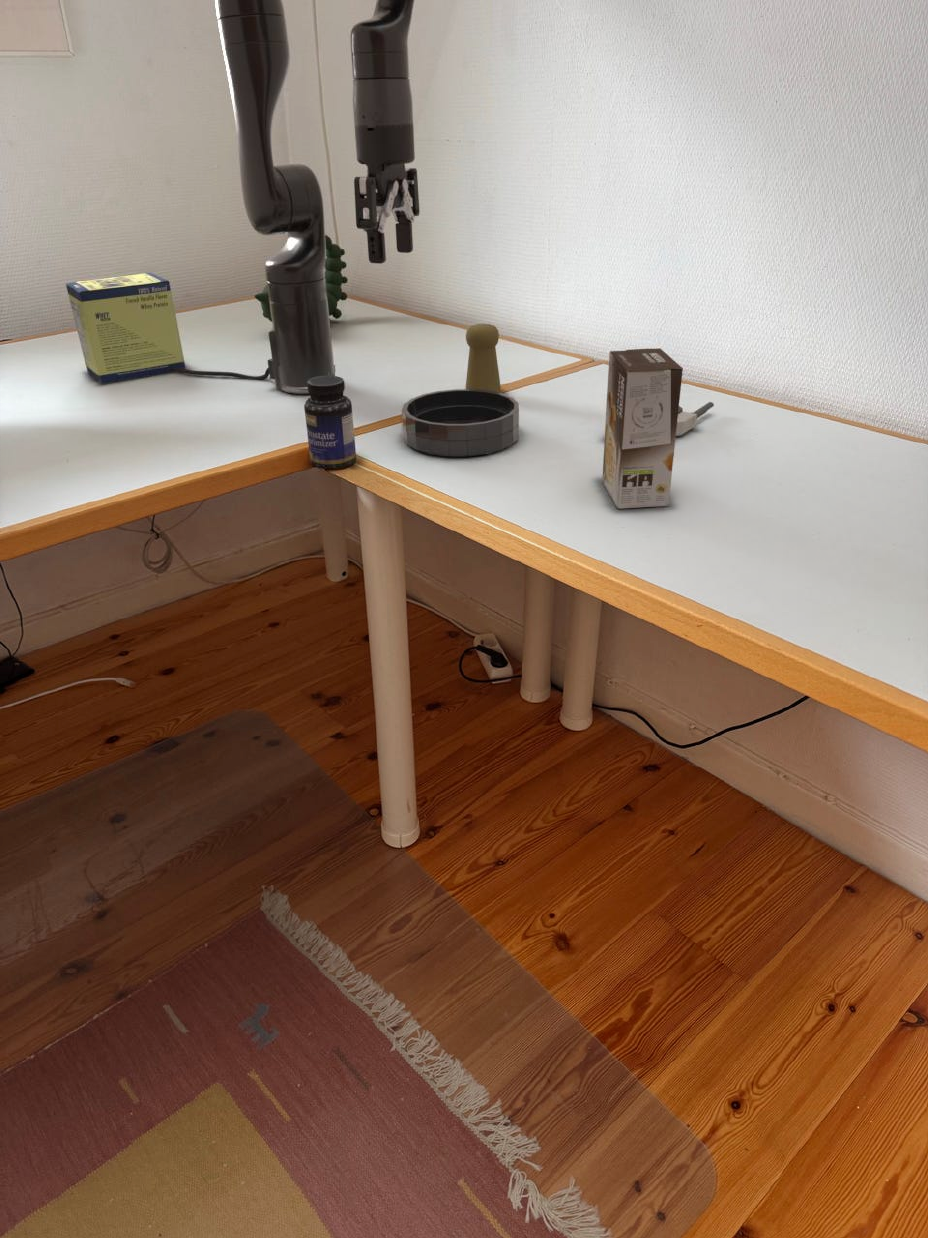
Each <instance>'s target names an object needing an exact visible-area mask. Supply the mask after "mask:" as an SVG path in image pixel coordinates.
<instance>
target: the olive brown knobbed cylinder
mask: <svg viewBox="0 0 928 1238" xmlns="http://www.w3.org/2000/svg"><path fill="white" fill-rule="evenodd" d="M499 337H500V333H499V330H498V327H496V326H495V325H493V324H490V323H476V324H472V325H470V326H468V328H467V330H466V333H465V341H466V344H467V346H468V347H469V348H468V359H467V368H466V369H467V370H466V379H465V380H466V381H465V388H464V389H476V390H488V391H493V392H498V393H502V386H501V378H500V371H499V370H500V369H499V364H498V363H499V362H498V355H497V349H496V346H497V345H498V343H499V339H500V338H499Z"/></svg>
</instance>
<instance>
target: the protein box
mask: <svg viewBox="0 0 928 1238" xmlns="http://www.w3.org/2000/svg"><path fill="white" fill-rule="evenodd" d="M65 288H66V291H67V295H68V299H69V303H70V307H71V311H72V316H73V321H74V324H75V328H76V331H77V335H78V339H79V343H80V347H81V352H82V356H83V359H84V363H85V367H86V371H87V373H88V374H89V375H90V376H91V377H93V378H94V379H95V380H96V381H97V382H98V383H99V384H101V385H103V384H104V385H105V384H110V383H116V382H121V381H122V382H123V381H127V380H133V379H137V378H138V379H139V378H144V377H150V376H151V377H152V376H157V375H162V374H168V373H175V371H172V370H171V368H172V367H176V368H181V369H187V368H186V362H185V357H184V352H183V347H182V342H181V336H180V333H179V332H180V331H179V327H178V320H177V315H176V310H175V305H174V298H173V293H172V289H171V283H170V281H169V280H168V279H166V278H163V277H161V276H159V275H157V274H154V273H153V272H143V273H138V274H131V275H121V276H115V277H107V278H97V279H90V280H81V281H72V282H67V283H65Z"/></svg>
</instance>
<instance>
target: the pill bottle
mask: <svg viewBox="0 0 928 1238" xmlns="http://www.w3.org/2000/svg"><path fill="white" fill-rule="evenodd" d="M307 387H308V392H309V393H310V394H309V396H310V397H309V398H307V399H306V401H305V402H304V405H303V410H304V416H305V426H306V433H307V434H306V435H307V442H308V450H309V451H308V452H309V459H310V464H311V465H312V466H313V467H314V468H317V469H321V470H326V471H327V470H328V471H333V470H340V469H341V470H342V469H346V468H348V467H350V466H352V465H353V464H354V463H355V462H356V460H357V451H356V449H357V448H356V437H355V427H354V417H353V416H354V415H353V404H352V401H351V400H350V398H349V397H348V396H347V395H345V394H344V392H345V389H346V385H345V380H344V378H343V377H341V376H337V375H335V376H319V377H314V378H311V379H309V380H308V381H307Z"/></svg>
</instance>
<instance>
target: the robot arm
mask: <svg viewBox="0 0 928 1238" xmlns="http://www.w3.org/2000/svg"><path fill="white" fill-rule="evenodd" d="M214 4H215V10H216V17H217V23H218V25H217V26H218V30H219V36H220V41H221V48H222V53H223V57H224V62H225V68H226V74H227V80H228V84H229V85H228V86H229V90H230V91H229V92H230V96H231V103H232V109H233V115H234V124H235V130H236V131H235V132H236V133H235V134H236V143H237V152H238V153H237V154H238V165H239V174H240V175H239V177H240V184H241V186H240V187H241V193H242V200H243V205H244V209H245V213H246V217H247V219H248V221H249V223H250V225H251V226H252V228H253V229H254V231H255V232H256V233H258V234H259V235H262V236H274V235H283V234H287V238H286V239H287V240H286V242H285V244H284V245H283V247H282V248H281V249H280V250H279V251H278V252H276V253H275V254H274V255H272V256H271V257H270V258H268V259H267V260H266V261H265V263H264V275H265V280H266V285H267V289H268V296H269V303H270V310H271V317H272V322H271V324H272V328H271V329H270V330H269V331H268V339H269V340H268V341H269V348H270V354H271V358H270V359H268V360H266V361H267V366H268V367H267V368H266V369H265V372H264V374H262V375H259V376H256V375H255V376H254V375H253V376H252V375H248V374H243V373H238V372H231V371H213V370H212V371H211V370H210V371H208V370H193V369H187V368H186V369H181V368H176V367H172V368H171V370H172V371H175V372H176V373H180V374H186V375H194V376H207V377H208V376H210V377H211V376H214V377H233V378H237V379H242V380H254V381H263V380H265V379H267V378H269V379H270V380H274V382H275V383H274V384H275V388H276V390H282V391H283V392H285V393H289V394H294V395H295V394H296V395H310V393H309V392H308V387H307V381H308V380H309V379H311V378H314V377H319V376H336V364H335V360H334V351H333V342H332V341H333V340H332V333H331V332H332V330H331V324H330V321H329V318H330V316H329V311H328V302H327V293H326V283H325V274H324V272H325V267H324V265H325V260H326V258H327V257H326V243H325V235H326V227H325V210H324V209H325V208H324V200H323V193H322V189H321V185H320V182H319V180H318V177H317V175H316V173H315V172H314V170H313V169H312V168H310V167H309V166H307V165H305V164H302V163H291V164H279V165H275V164H274V156H273V147H272V145H273V144H272V131H273V130H272V128H273V121H274V117H275V113H276V110H277V107H278V104H279V101H280V99H281V96H282V93H283V89H284V87H285V84H286V80H287V77H288V73H289V69H290V63H291V51H290V49H291V48H290V42H289V35H288V28H287V21H286V13H285V7H284V4H283V0H214ZM414 4H415V0H376V1H375V5H374V6H375V7H374V11H373V14H372V17H371V18H369V19H365V20H361V21H359V22H357V23H355V24H354V25H353V26H352V28H351V30H350V36H349V37H350V41H349V42H350V54H351V55H350V58H351V70H352V71H351V72H352V112H353V113H352V114H353V125H354V138H355V151H356V160H357V162H358V163H359V164H361V165H365V166H366V168H367V170H366V176H355V177H354V178H353V179H354V180H353V187H354V189H353V190H354V209H355V226H356V228H357V229H358V230H363V232H364V233H366V239H367V241H366V242H367V251H368V253H367V255H368V261H369V263H371V264H380V265H381V264H384V263H386V261H387V256H386V255H387V254H386V239H385V238H386V236H385V232H384V230H385V226H386V221H387V219H388V218H389V217H391V215H393V218H394V220H395V222H396V223H395V224H394V225H395V238H396V241H395V242H396V251H397V252H398V253H400V254H401V253H402V254H404V253H405V254H409V253H412V252H413V251H414V242H413V240H414V239H413V223H414V222H415V217H419V216H420V212H421V211H420V199H419V198H420V197H419V179H418V169H417V168H416V167H415V168H413V167H406V164H411V163H413V162H414V161H415V158H416V157H415V152H416V151H415V134H414V133H415V131H414V107H413V96H412V90H411V83H410V61H409V45H408V40H409V33H410V29H411V23H412V17H413V9H414ZM364 213H365V215H364ZM175 372H174V373H175Z"/></svg>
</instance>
